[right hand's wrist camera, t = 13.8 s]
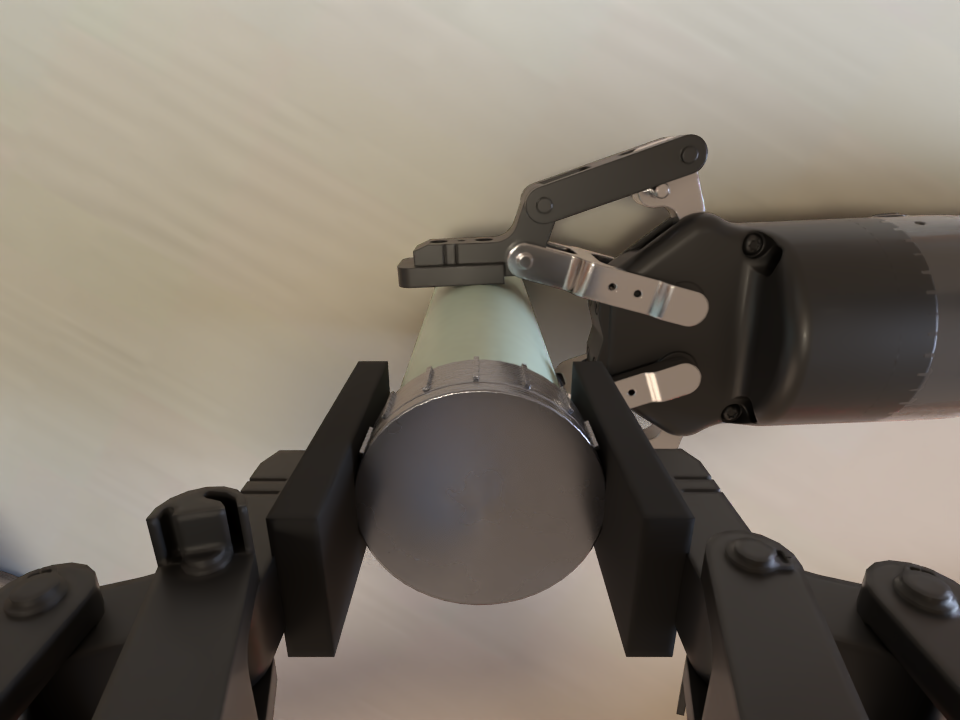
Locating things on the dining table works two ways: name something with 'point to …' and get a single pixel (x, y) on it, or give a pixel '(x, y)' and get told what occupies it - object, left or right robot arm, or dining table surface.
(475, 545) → the lid
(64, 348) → the dining table surface
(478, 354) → the pale green cylinder
